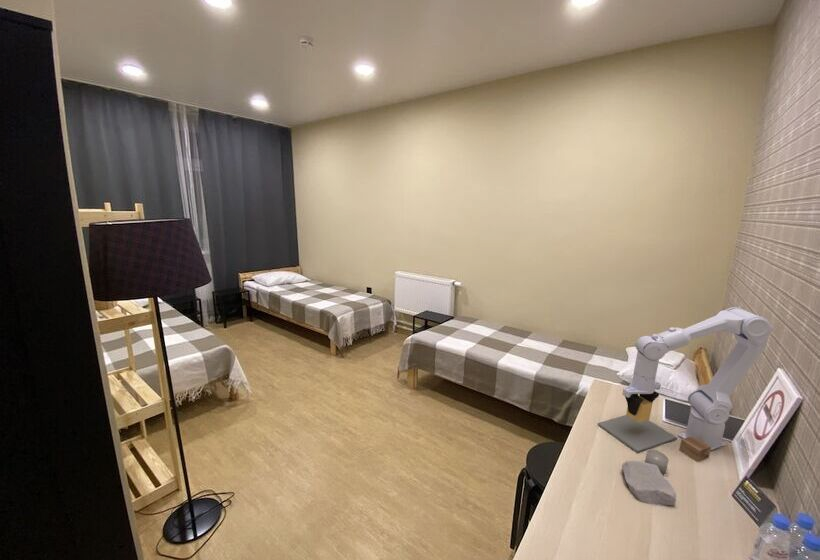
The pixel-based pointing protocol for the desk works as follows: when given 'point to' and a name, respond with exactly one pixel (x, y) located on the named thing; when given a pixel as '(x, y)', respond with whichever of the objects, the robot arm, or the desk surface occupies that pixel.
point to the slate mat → (637, 433)
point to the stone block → (648, 483)
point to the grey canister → (657, 460)
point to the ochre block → (642, 411)
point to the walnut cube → (695, 448)
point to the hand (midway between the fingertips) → (637, 411)
